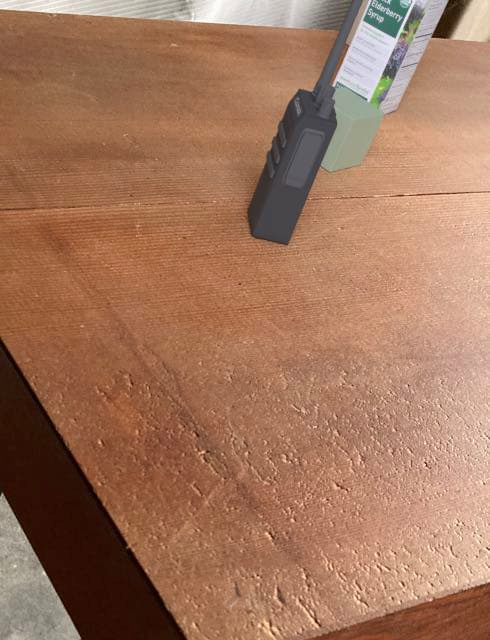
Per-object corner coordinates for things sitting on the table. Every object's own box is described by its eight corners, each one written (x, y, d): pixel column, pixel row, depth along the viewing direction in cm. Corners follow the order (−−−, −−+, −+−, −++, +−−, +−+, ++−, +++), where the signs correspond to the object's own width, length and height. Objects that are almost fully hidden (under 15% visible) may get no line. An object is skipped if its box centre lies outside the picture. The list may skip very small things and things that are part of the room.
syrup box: (325, 95, 102) (390, -59, 91) (354, 86, 105) (418, -62, 95) (370, 121, 100) (441, -32, 89) (397, 111, 103) (468, -37, 93)
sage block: (361, 164, 92) (386, 113, 88) (329, 172, 89) (353, 119, 86) (322, 138, 94) (345, 86, 90) (290, 144, 91) (312, 92, 88)
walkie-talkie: (243, 208, 81) (346, -58, 66) (282, 217, 81) (392, -45, 67) (248, 238, 77) (357, -34, 63) (288, 248, 78) (406, -20, 64)
